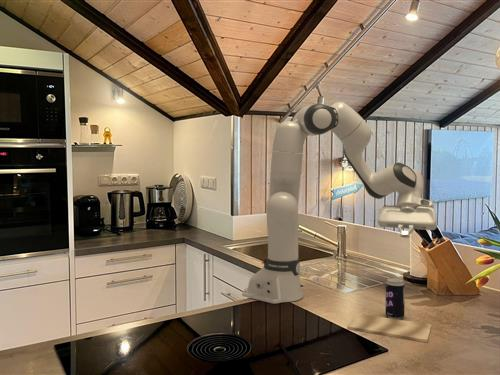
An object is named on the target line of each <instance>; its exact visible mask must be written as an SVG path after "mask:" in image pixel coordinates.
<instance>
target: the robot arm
mask: <svg viewBox="0 0 500 375" xmlns="http://www.w3.org/2000/svg"><path fill="white" fill-rule="evenodd" d="M329 131H331V132H332V133H334V135H335V136H336V137H337V138H338V139H339V140H340V142H341V144H343V155H344V156H345V159H346V160H347V163H348V164H349V166H351V168H352V169H353V171H354V172H355V175H356V176H357V177H358V179H359V180H360V181H361V182H362V184H363V186H364V189H365V190H366V192H367V194H368V195H369V196H371V197H372V198H374V199H377V200H382V199H383V198H385V197H387V196H389V195H390V194H392V193H394V192H396V193H398V195H397V199H396V205H392V204H391V205H387V204H386V205H385V204H384V205H383V206H380V207H379V210H378V213H379V214H378V217H377V225H378V226H379V227H380V228H388V229H389V228H393V229H394V228H395V229H398V231H399V233H400V238H406V239H407V238H410V235H411V234H412V233H413V232H414V230H424V231H425V230H426V231H435V230H436V229H437V226H438V225H437V213H436V211H435V206H434V203H433V201H431V200H428V199H424V198H422V196H423V194H424V179H423V175H422V173H421V172H420V171H419V170H418V169H414V168H411V167H410V166H408V165H407V164H404V163H402V162H395V163H393V164H391V165H389V166H387V167H385V168H383V169H381V170H379V171H376V172H375V171H372V170H371V167H370V166H369V165H368V163H367V161H366V160H365V159H364V157H363V155H362V154H363V152H364V151H365V149H366V148H367V146H368V145H369V144H370V142H371V138H372V129H371V127H370V126H369V125H368V123H367V121H366V120H365V119H364V118H363V117H362V116H361V115H360V114H359V113H358V112H356V110H354V109H353V108H352V107H351V106H350V105H349V104H346V103H345V102H343V101H337V102H335V103H333V104H331V105H327V104H323V103H315V104H313V103H312V104H308V105H305V106H303V107H300V108H299V109H297V111H296V112H295V113H294V115H293V116H292V118H291V119H290V120H289V121H288V120H285V121H282V122H281V123H279V124H278V125H277V127H276V129H275V133H274V138H273V142H272V149H271V150H272V151H271V161H270V163H271V164H270V172H269V174H270V175H269V176H270V178H269V197H268V200H267V201H266V202H267V203H266V209H265V210H266V228H267V229H266V230H267V256H266V258H264V259H263V260H261V265H263V267H262V268H261V269H259V270H258V271H257V272H255V273H254V274H253V275H252V276H250V278H249V281H248V286H247V287H246V288H245V289H243V291H242V293H241V295H242V297H246V298H248V299H253V300H257V301H261V302H266V303H270V304H280V303H290V302H296V301H298V300H301V299H303V297H304V294H303V292H302V287H301V281H300V270H301V263H300V262H301V261H300V258H299V201H300V200H299V199H300V190H301V188H300V187H301V178H302V177H301V176H302V166H303V155H304V144H305V140H306V139H307V137H308V136H318V135H319V136H320V135H324V134H326V133H328V132H329ZM404 229H408V230H404Z"/></svg>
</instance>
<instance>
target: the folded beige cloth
mask: <svg viewBox="0 0 500 375" xmlns="http://www.w3.org/2000/svg"><path fill="white" fill-rule="evenodd" d="M347 330H350V331H351V330H352V331H357V332H362V333H369V334H375V335H381V336H386V337H392V338H396V339H397V338H398V339H404V340H408V341H409V340H410V341H415V342H420V343H426V344H427V343H428V342H429V337H430V334H431V330H432V324H430V323H429V324H428V323H423V322H416V321H411V320H410V321H409V320H404V319H391V318H389V317H384V316H377V315H371V314H364V313H360V312H359V313H357V312H356V314H355V315H354V317H353V318H352V319H351V321H350V322H349V323H348V324H347Z"/></svg>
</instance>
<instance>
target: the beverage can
mask: <svg viewBox="0 0 500 375" xmlns="http://www.w3.org/2000/svg"><path fill="white" fill-rule="evenodd" d="M405 292H406V288H405V282H404V279H402V278H398V277H389V278H387V279H386V282H385V315H386V316H387V318H391V319H398V320H402V318H404V317H405V303H406V301H405V297H406V296H405V295H406V294H405Z"/></svg>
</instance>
